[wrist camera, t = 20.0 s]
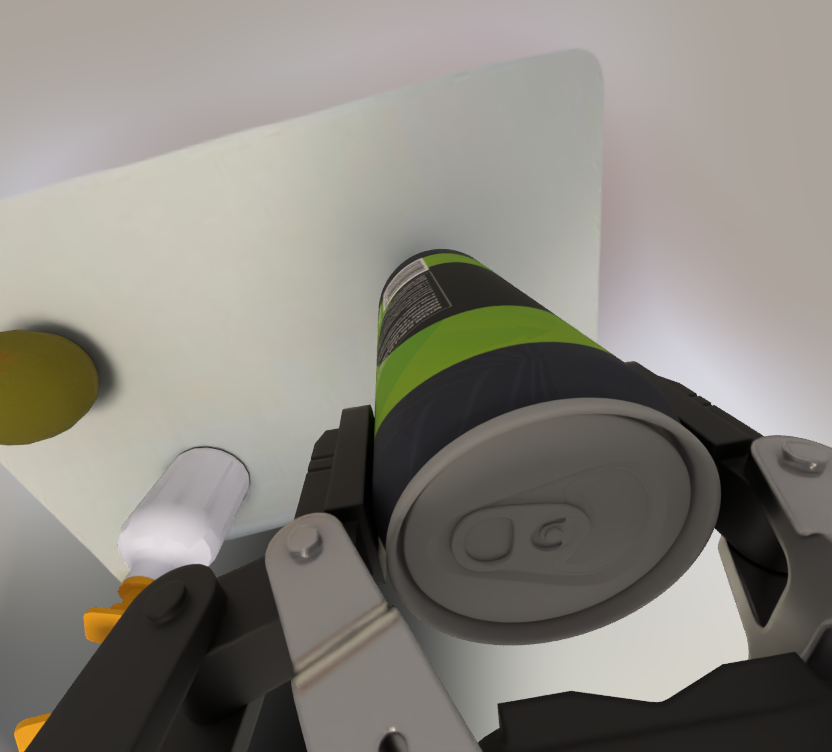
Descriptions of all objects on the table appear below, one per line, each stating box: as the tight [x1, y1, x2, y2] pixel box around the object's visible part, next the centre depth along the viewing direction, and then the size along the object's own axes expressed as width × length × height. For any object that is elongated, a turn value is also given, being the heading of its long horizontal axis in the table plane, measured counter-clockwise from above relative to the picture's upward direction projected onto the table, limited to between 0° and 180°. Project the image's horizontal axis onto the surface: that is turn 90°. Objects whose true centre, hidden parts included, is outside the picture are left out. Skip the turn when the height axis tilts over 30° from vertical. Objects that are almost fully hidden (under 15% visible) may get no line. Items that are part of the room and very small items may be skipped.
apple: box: [0, 330, 99, 445], centre depth 32 cm, size 10×10×11 cm
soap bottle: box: [14, 448, 249, 752], centre depth 34 cm, size 9×9×25 cm
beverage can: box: [372, 249, 721, 645], centre depth 13 cm, size 6×6×15 cm
